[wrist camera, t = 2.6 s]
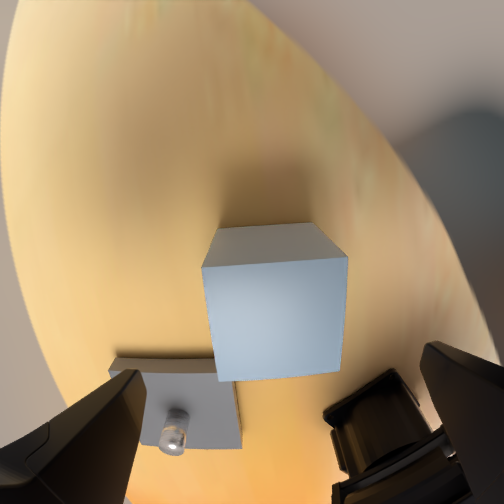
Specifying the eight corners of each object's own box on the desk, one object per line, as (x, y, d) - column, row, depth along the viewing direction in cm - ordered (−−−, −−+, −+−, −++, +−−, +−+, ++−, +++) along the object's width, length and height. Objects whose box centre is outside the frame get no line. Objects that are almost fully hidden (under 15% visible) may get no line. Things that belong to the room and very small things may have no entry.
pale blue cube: (312, 222, 16) (347, 256, 10) (312, 307, 17) (339, 370, 12) (217, 228, 16) (201, 267, 10) (226, 313, 17) (218, 381, 12)
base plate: (231, 357, 18) (227, 408, 14) (242, 434, 21) (242, 479, 16) (115, 357, 18) (91, 400, 14) (145, 431, 21) (133, 472, 16)
